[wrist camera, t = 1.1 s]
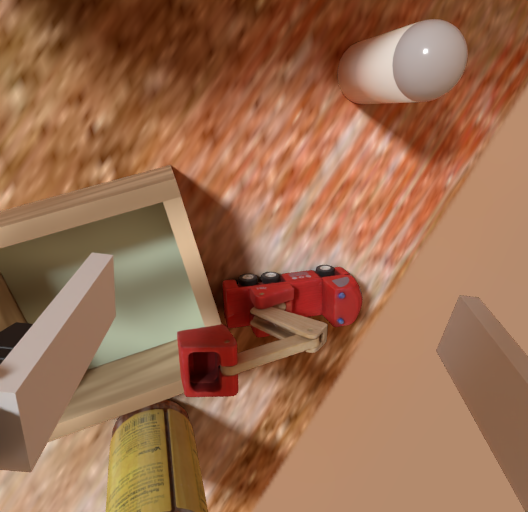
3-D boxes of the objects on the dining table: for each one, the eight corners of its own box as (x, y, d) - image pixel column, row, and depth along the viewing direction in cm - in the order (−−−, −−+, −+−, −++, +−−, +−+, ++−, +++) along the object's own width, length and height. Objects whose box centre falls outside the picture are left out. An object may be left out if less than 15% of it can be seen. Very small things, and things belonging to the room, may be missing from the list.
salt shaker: (332, 48, 27) (411, 20, 19) (386, 34, 28) (485, 3, 20) (342, 110, 29) (418, 109, 21) (393, 96, 29) (487, 90, 21)
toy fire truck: (342, 299, 34) (409, 365, 25) (174, 321, 31) (183, 405, 22) (344, 261, 33) (416, 316, 24) (170, 280, 30) (178, 352, 21)
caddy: (-38, 221, 25) (-90, 252, 20) (170, 164, 27) (175, 178, 22) (52, 386, 30) (30, 448, 24) (222, 328, 32) (237, 373, 26)
